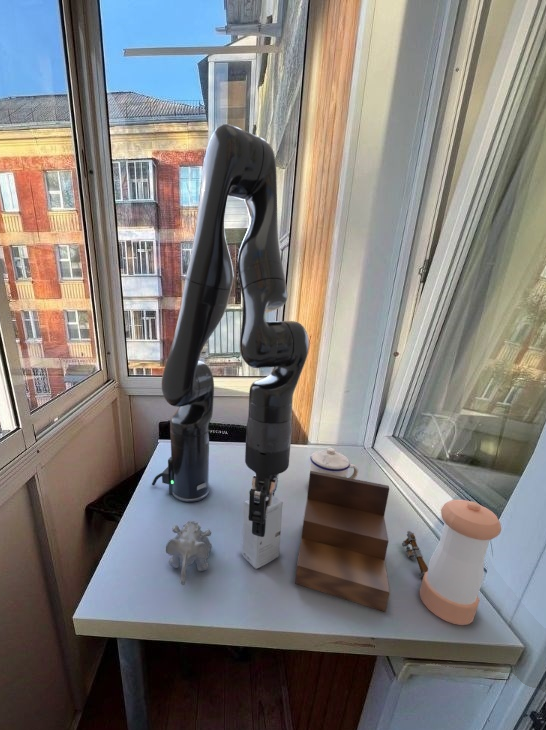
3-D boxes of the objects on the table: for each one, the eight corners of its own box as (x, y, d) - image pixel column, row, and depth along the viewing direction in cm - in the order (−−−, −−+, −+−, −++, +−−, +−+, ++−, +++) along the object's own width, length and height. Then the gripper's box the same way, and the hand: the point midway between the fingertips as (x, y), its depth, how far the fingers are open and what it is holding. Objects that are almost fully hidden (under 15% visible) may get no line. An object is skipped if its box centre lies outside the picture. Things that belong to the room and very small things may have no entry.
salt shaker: (431, 577, 59) (455, 483, 53) (481, 609, 53) (515, 507, 47) (411, 598, 55) (434, 499, 49) (463, 634, 49) (496, 527, 44)
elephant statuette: (208, 541, 67) (208, 509, 65) (224, 592, 56) (225, 555, 54) (162, 548, 66) (161, 516, 63) (170, 602, 54) (168, 565, 52)
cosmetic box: (256, 570, 60) (259, 514, 57) (240, 554, 64) (242, 501, 60) (280, 556, 64) (284, 502, 60) (263, 541, 67) (267, 490, 64)
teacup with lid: (314, 502, 80) (320, 458, 76) (302, 480, 88) (306, 441, 85) (363, 500, 80) (371, 457, 77) (346, 479, 89) (352, 440, 85)
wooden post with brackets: (406, 539, 66) (415, 528, 63) (424, 583, 60) (435, 573, 57) (396, 539, 67) (405, 528, 64) (414, 583, 61) (424, 573, 58)
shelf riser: (295, 583, 58) (302, 515, 54) (304, 528, 71) (310, 470, 67) (385, 612, 53) (401, 539, 49) (377, 546, 66) (388, 485, 62)
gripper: (256, 421, 64) (252, 494, 69) (234, 455, 52) (232, 541, 57) (295, 427, 62) (289, 503, 66) (283, 464, 49) (276, 554, 54)
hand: (263, 520), depth 62 cm, fingers closed on cosmetic box, 7 cm apart
